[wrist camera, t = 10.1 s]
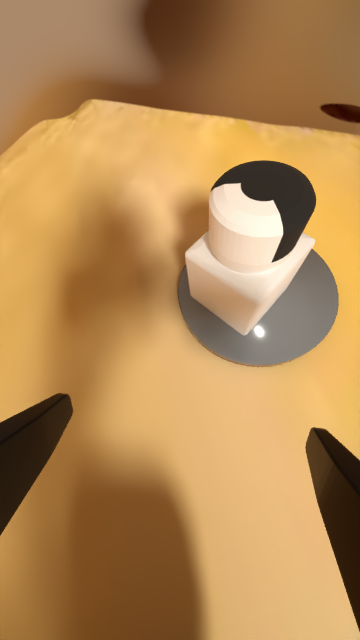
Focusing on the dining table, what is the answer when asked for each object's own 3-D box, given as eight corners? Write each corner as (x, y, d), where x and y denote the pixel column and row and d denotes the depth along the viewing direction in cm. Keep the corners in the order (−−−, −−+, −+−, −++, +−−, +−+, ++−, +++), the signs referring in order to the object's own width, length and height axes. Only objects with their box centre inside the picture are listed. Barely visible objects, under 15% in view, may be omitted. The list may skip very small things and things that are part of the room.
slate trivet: (362, 344, 22) (372, 339, 20) (199, 384, 22) (199, 382, 21) (292, 224, 28) (296, 214, 27) (167, 256, 28) (165, 248, 27)
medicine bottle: (231, 253, 26) (249, 131, 15) (287, 288, 23) (359, 173, 12) (189, 296, 24) (173, 196, 13) (244, 338, 22) (282, 258, 11)
